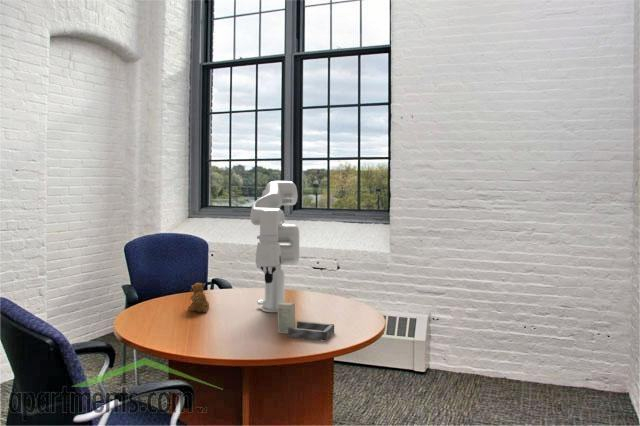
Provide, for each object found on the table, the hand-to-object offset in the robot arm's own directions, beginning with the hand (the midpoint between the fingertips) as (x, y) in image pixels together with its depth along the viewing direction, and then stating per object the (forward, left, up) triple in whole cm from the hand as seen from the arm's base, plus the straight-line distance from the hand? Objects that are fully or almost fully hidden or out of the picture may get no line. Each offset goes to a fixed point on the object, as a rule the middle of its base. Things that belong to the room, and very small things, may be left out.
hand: (268, 282), depth 217 cm
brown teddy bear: (-44, +19, -21) cm, 52 cm away
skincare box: (+8, 0, -21) cm, 22 cm away
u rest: (+19, 0, -20) cm, 28 cm away
